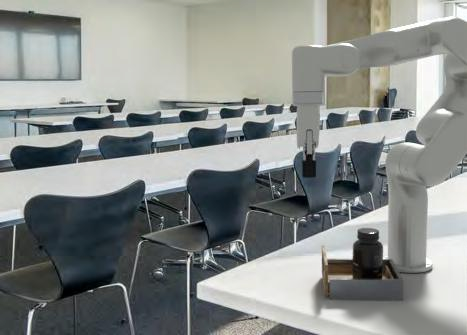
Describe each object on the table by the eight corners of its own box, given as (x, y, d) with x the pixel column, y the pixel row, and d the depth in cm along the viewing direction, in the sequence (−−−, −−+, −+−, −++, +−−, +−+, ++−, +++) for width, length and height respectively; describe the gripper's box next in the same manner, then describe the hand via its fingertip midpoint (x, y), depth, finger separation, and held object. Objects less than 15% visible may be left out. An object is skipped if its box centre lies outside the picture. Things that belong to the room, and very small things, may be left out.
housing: (325, 276, 143) (325, 258, 142) (391, 277, 141) (392, 258, 141) (329, 299, 128) (329, 279, 127) (403, 300, 126) (403, 280, 126)
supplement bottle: (346, 281, 134) (346, 230, 132) (361, 273, 139) (362, 224, 137) (373, 288, 130) (373, 235, 128) (388, 280, 135) (389, 229, 133)
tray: (321, 273, 143) (320, 245, 142) (385, 273, 141) (386, 245, 140) (324, 295, 128) (324, 264, 127) (396, 296, 126) (397, 265, 125)
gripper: (292, 98, 143) (293, 172, 146) (292, 101, 129) (293, 182, 132) (323, 97, 143) (323, 171, 145) (326, 100, 128) (327, 182, 131)
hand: (309, 176), depth 138 cm, fingers closed
